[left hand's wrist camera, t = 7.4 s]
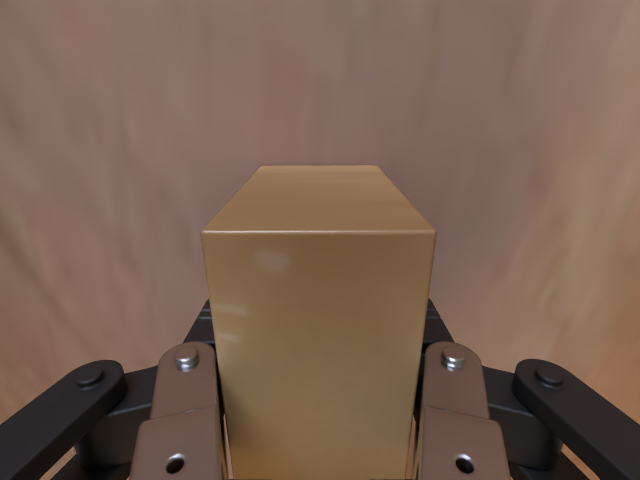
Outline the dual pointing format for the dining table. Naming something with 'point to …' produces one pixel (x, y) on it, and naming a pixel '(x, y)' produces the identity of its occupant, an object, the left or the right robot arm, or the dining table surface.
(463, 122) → the dining table surface
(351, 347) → the bar
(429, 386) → the left robot arm
